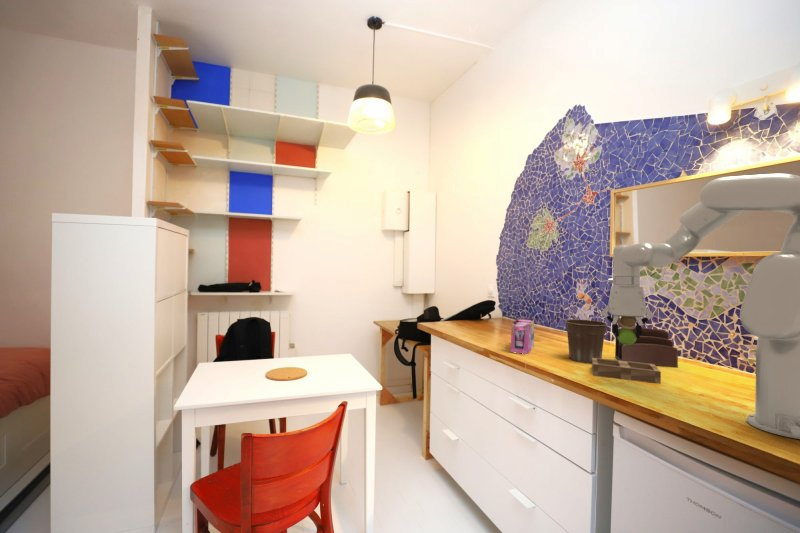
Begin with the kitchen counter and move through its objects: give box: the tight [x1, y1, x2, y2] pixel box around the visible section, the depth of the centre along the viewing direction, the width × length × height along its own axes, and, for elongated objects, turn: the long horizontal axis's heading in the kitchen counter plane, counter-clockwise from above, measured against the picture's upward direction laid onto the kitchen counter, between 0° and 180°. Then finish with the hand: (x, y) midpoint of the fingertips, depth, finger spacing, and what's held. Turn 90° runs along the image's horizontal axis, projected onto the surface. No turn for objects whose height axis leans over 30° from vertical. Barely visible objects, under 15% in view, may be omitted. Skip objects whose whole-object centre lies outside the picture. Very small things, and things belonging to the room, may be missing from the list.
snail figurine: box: [617, 316, 637, 345], centre depth 123 cm, size 5×6×12 cm
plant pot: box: [564, 318, 608, 364], centre depth 156 cm, size 16×16×16 cm
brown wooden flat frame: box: [591, 357, 662, 384], centre depth 134 cm, size 12×20×4 cm, turn 65°
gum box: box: [510, 317, 535, 355], centre depth 175 cm, size 24×8×14 cm, turn 154°
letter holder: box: [614, 327, 679, 369], centre depth 154 cm, size 10×20×14 cm, turn 74°
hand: (626, 336), depth 123 cm, fingers closed on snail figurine, 5 cm apart
